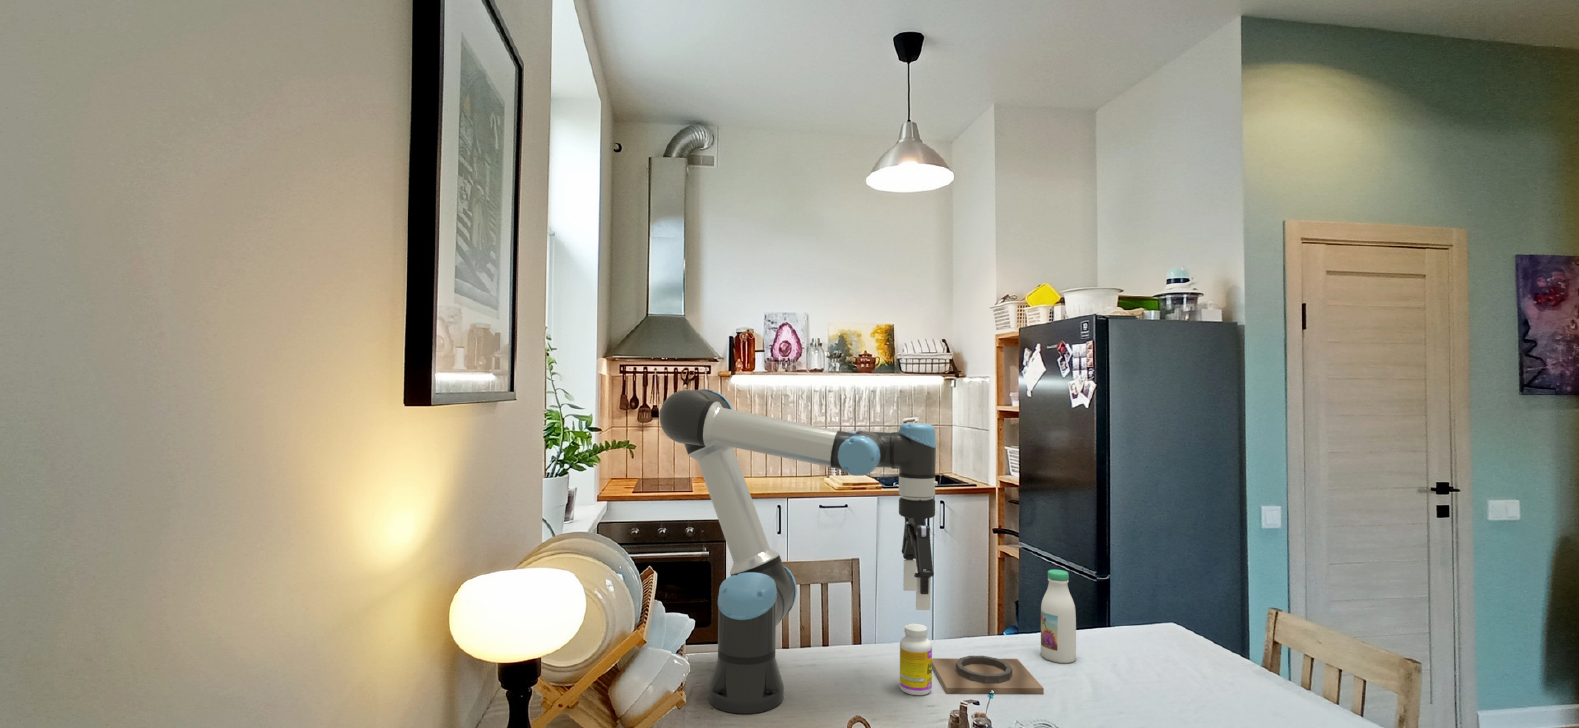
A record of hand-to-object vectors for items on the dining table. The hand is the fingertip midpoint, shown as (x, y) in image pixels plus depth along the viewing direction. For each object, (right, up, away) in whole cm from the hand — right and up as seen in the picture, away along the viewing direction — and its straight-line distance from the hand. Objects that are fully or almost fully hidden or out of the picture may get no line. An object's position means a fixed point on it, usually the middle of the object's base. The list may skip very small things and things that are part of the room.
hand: (916, 599), depth 149 cm
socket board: (+16, -19, +6) cm, 25 cm away
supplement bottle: (0, -19, -1) cm, 19 cm away
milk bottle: (+36, -20, +18) cm, 45 cm away
